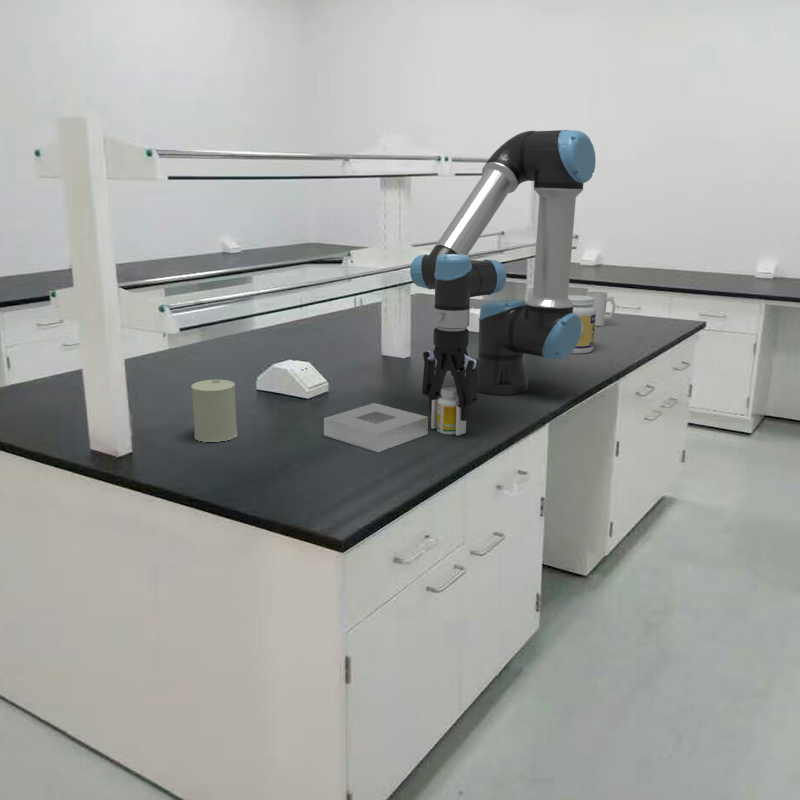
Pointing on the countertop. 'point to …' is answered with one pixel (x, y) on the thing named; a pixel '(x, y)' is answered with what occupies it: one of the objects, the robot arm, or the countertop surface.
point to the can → (214, 410)
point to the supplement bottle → (447, 411)
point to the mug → (601, 306)
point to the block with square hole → (375, 427)
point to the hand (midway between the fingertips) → (448, 430)
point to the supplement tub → (584, 322)
